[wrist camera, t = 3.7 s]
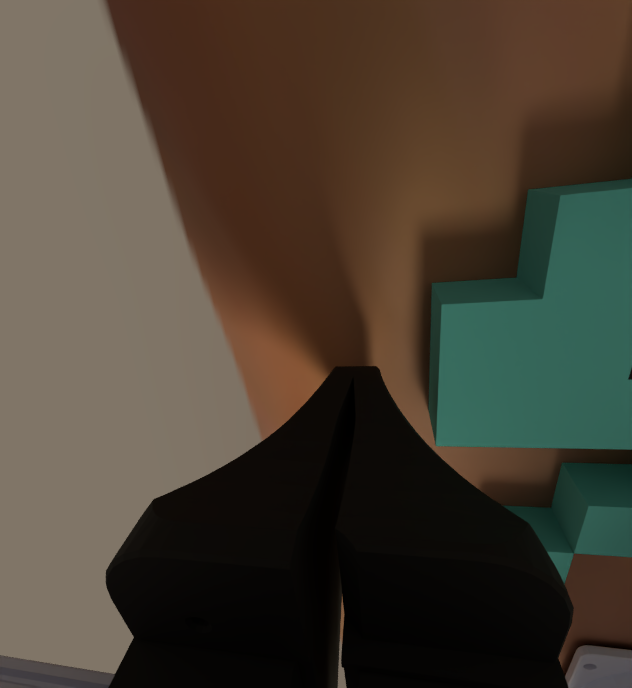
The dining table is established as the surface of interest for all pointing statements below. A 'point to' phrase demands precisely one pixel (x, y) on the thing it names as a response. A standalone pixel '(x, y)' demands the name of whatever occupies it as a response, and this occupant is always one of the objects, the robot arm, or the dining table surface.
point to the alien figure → (549, 361)
